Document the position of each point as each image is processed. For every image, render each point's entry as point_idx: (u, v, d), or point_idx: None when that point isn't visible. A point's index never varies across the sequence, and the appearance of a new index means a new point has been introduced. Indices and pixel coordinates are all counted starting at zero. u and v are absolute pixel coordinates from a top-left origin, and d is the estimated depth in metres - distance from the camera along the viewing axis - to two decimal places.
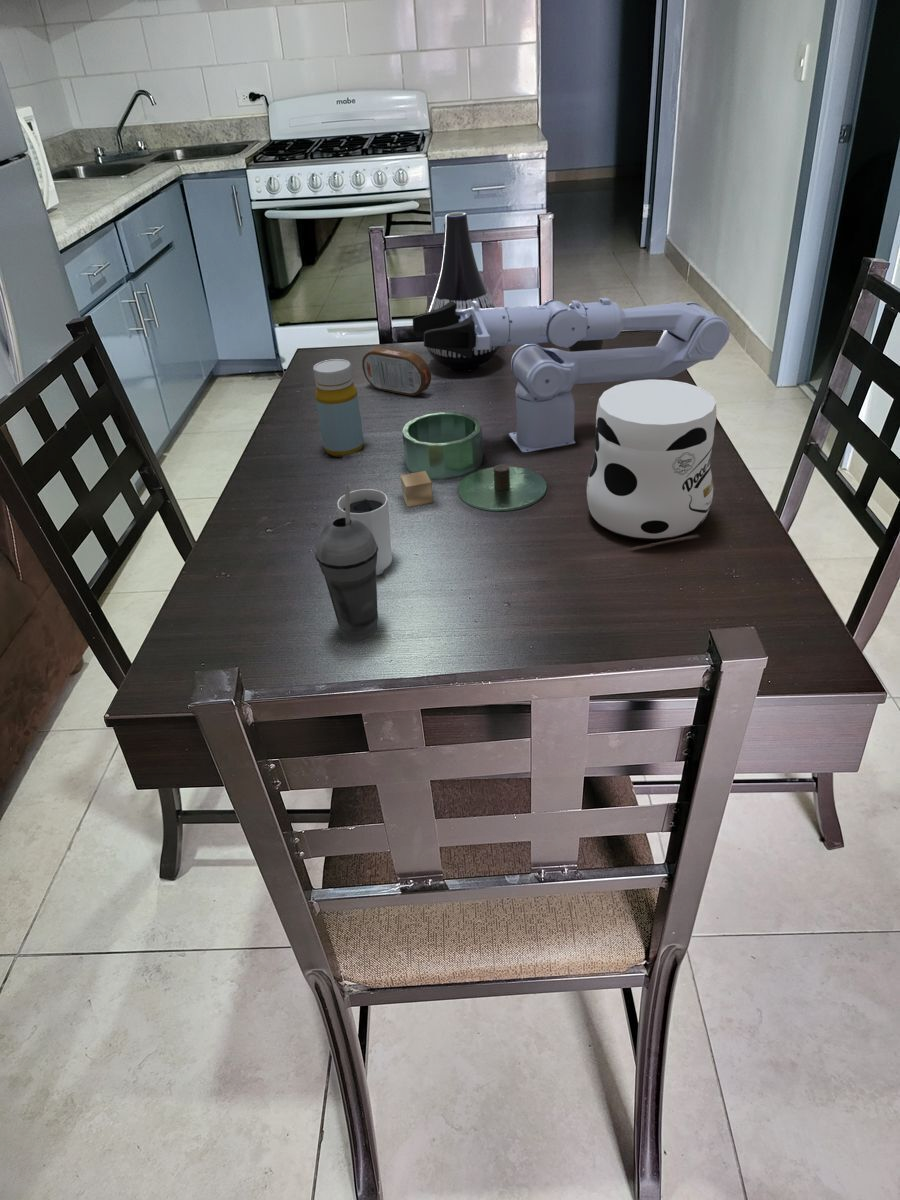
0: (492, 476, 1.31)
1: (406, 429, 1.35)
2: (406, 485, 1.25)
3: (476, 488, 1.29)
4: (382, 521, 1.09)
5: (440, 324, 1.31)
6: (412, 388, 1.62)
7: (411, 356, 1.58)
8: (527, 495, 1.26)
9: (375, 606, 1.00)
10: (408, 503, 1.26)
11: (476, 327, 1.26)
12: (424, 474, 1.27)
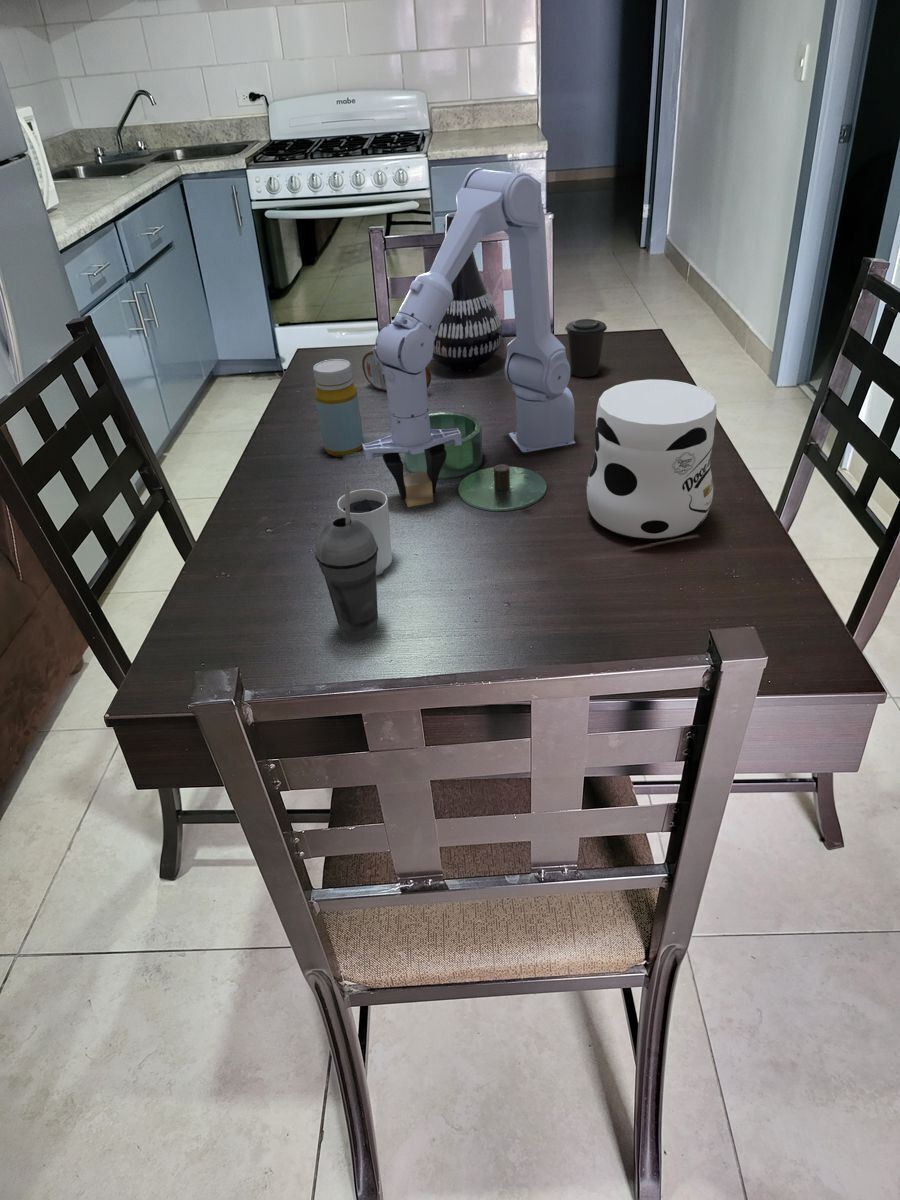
0: (492, 476, 1.31)
1: None
2: (406, 485, 1.25)
3: (476, 488, 1.29)
4: (382, 521, 1.09)
5: None
6: None
7: None
8: (527, 495, 1.26)
9: (375, 606, 1.00)
10: (408, 503, 1.26)
11: None
12: (425, 474, 1.27)
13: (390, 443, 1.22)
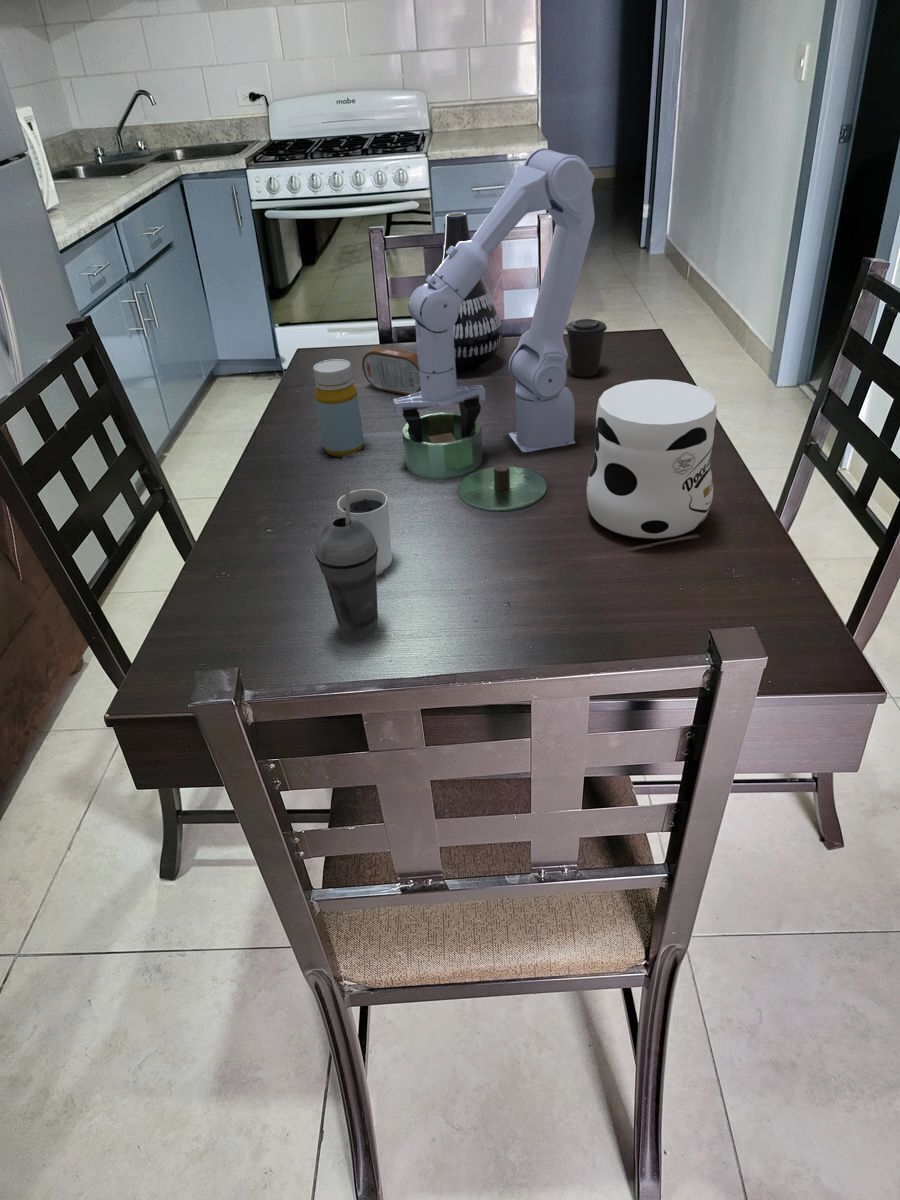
0: (492, 476, 1.31)
1: (406, 429, 1.35)
2: None
3: (476, 488, 1.29)
4: (382, 521, 1.09)
5: None
6: (412, 388, 1.62)
7: (411, 356, 1.58)
8: (527, 495, 1.26)
9: (375, 606, 1.00)
10: None
11: None
12: (451, 435, 1.37)
13: (419, 398, 1.31)
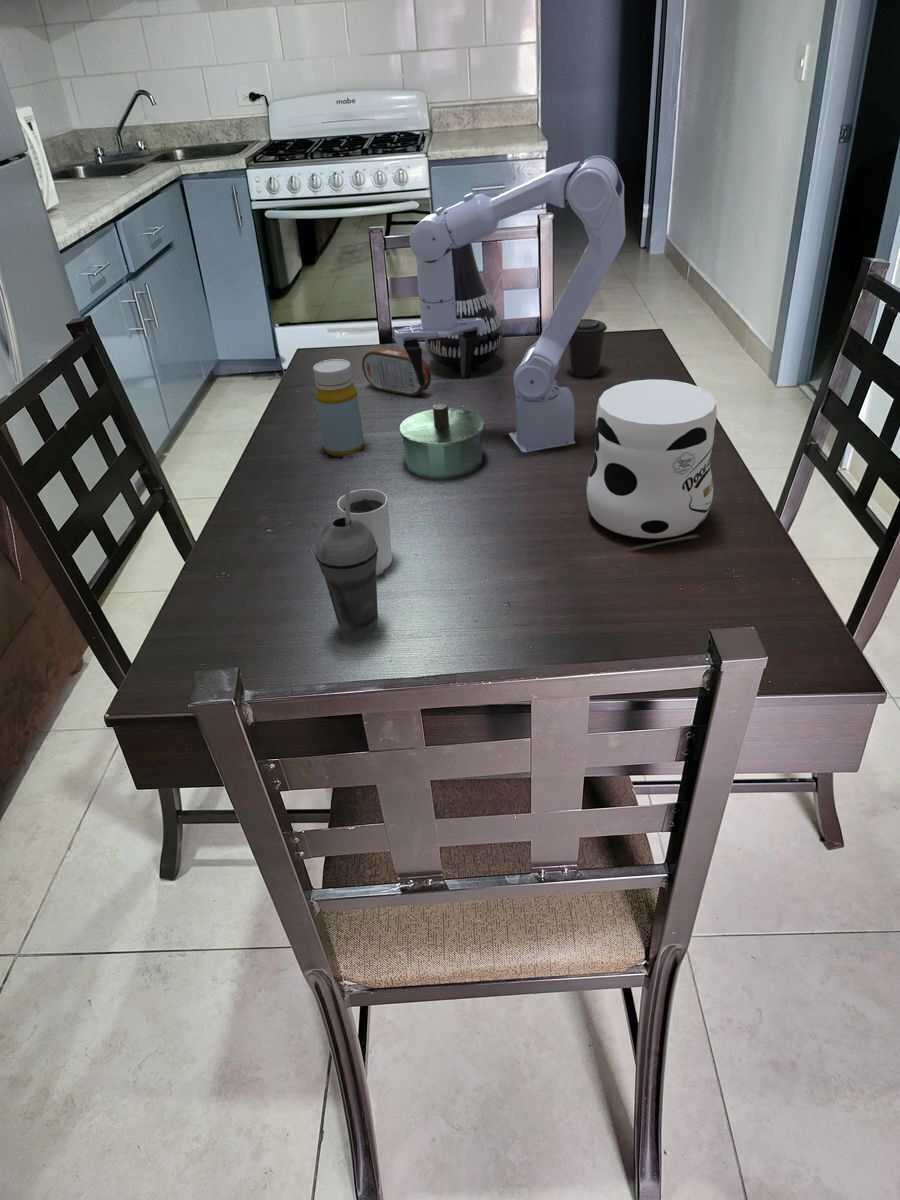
0: (433, 416, 1.37)
1: None
2: None
3: (417, 427, 1.34)
4: (382, 521, 1.09)
5: None
6: (412, 388, 1.62)
7: None
8: (464, 432, 1.32)
9: (375, 606, 1.00)
10: None
11: None
12: None
13: (419, 329, 1.35)
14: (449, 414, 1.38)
